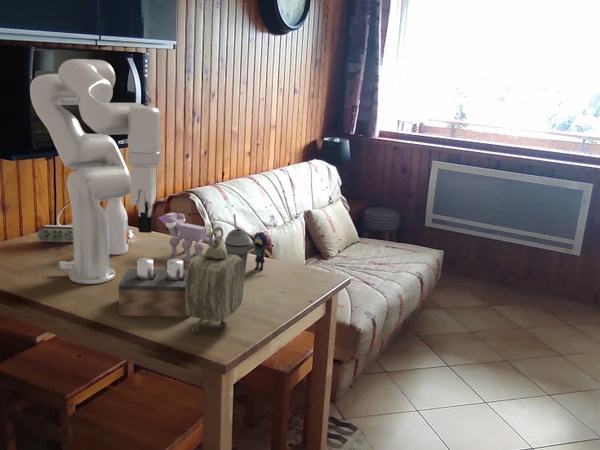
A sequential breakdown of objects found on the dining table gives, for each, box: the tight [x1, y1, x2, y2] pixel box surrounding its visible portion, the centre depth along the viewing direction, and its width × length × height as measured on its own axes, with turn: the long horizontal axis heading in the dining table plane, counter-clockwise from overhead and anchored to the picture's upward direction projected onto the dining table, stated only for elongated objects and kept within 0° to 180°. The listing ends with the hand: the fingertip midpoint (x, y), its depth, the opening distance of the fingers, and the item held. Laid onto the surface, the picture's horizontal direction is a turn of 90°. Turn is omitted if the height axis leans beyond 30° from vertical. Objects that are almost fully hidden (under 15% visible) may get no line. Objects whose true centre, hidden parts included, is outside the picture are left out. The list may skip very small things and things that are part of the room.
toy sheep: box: [158, 212, 216, 263], centre depth 195 cm, size 20×11×14 cm, turn 65°
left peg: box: [136, 257, 154, 281], centre depth 154 cm, size 4×4×8 cm
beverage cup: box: [224, 213, 251, 277], centre depth 176 cm, size 7×7×20 cm
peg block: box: [118, 267, 190, 318], centre depth 156 cm, size 18×12×8 cm
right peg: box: [166, 258, 184, 281], centre depth 155 cm, size 4×4×8 cm
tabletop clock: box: [185, 226, 245, 334], centre depth 144 cm, size 14×9×25 cm, turn 163°
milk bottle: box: [104, 197, 129, 256], centre depth 194 cm, size 8×8×20 cm
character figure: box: [247, 232, 274, 272], centre depth 187 cm, size 9×4×12 cm, turn 67°
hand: (145, 231), depth 151 cm, fingers closed
